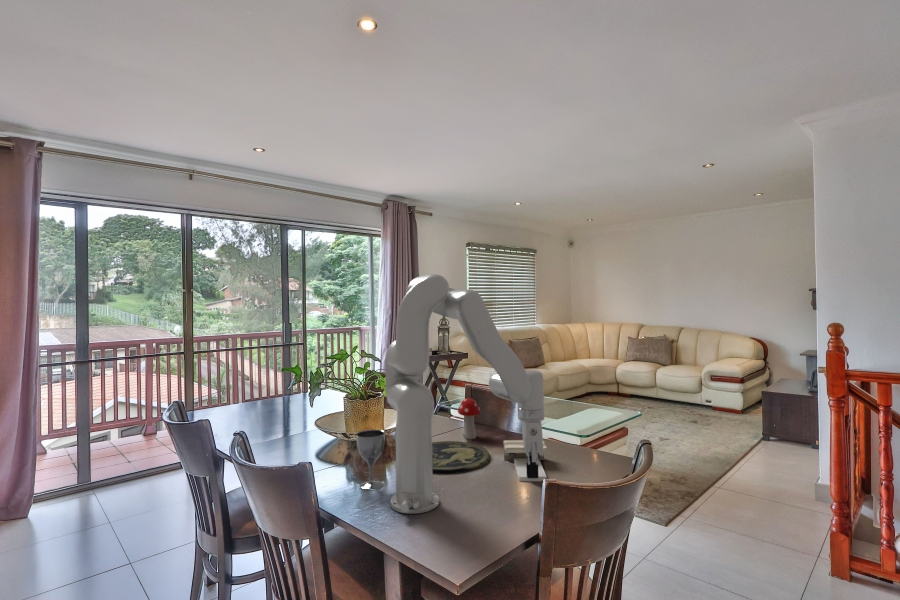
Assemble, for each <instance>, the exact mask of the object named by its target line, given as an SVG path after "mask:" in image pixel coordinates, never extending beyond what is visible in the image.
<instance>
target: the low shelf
mask: <svg viewBox="0 0 900 600" xmlns="http://www.w3.org/2000/svg"><path fill="white" fill-rule="evenodd" d="M543 453H544V455H543V456H542V457H541V456H540V455H539V453H538V458H539V460H540V461H544V460H545V454H546V453H548V447H547V445H546V443H545V442H544V440H543ZM514 458H527V455H526V453H525V450H524V446H523V439H521V440H520V439H519V440H513V439H512V440H503V460H504V461H508V462H509V463H514Z"/></svg>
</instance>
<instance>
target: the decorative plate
mask: <svg viewBox="0 0 900 600" xmlns="http://www.w3.org/2000/svg"><path fill="white" fill-rule="evenodd" d="M489 460H491V455H490V452H489V451H488V450H487V449H486V448H485V447H482V446H480V445H479V444H475V443H470V442H465V441H458V440H457V441H455V440H442V441H441V440H439V441H438V440H437V441H432V466H433V475H455V474H463V473H468V471H469V472H472V470H473V471H476V470H479V469H481V468H483V467H485V466H487V464H488V463H489V462H490V461H489ZM484 465H485V466H484ZM482 466H483V467H482ZM480 467H481V468H480ZM478 468H479V469H478ZM475 469H476V470H475Z"/></svg>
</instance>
